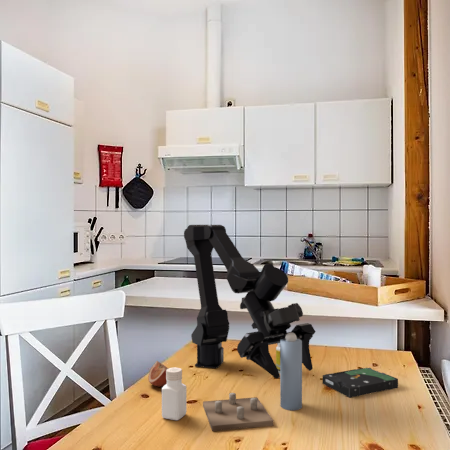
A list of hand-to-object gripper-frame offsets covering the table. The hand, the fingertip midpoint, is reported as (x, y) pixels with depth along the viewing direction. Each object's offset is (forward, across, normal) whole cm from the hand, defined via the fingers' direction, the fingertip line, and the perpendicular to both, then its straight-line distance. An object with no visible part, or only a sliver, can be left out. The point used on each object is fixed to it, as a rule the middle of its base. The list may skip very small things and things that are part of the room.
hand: (295, 373), depth 97 cm
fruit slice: (-15, -18, +25) cm, 34 cm away
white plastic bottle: (-2, -23, +13) cm, 27 cm away
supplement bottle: (-8, +14, +19) cm, 25 cm away
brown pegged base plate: (+2, -13, +8) cm, 15 cm away
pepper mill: (+4, 0, +6) cm, 7 cm away
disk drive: (+5, +22, +7) cm, 23 cm away
